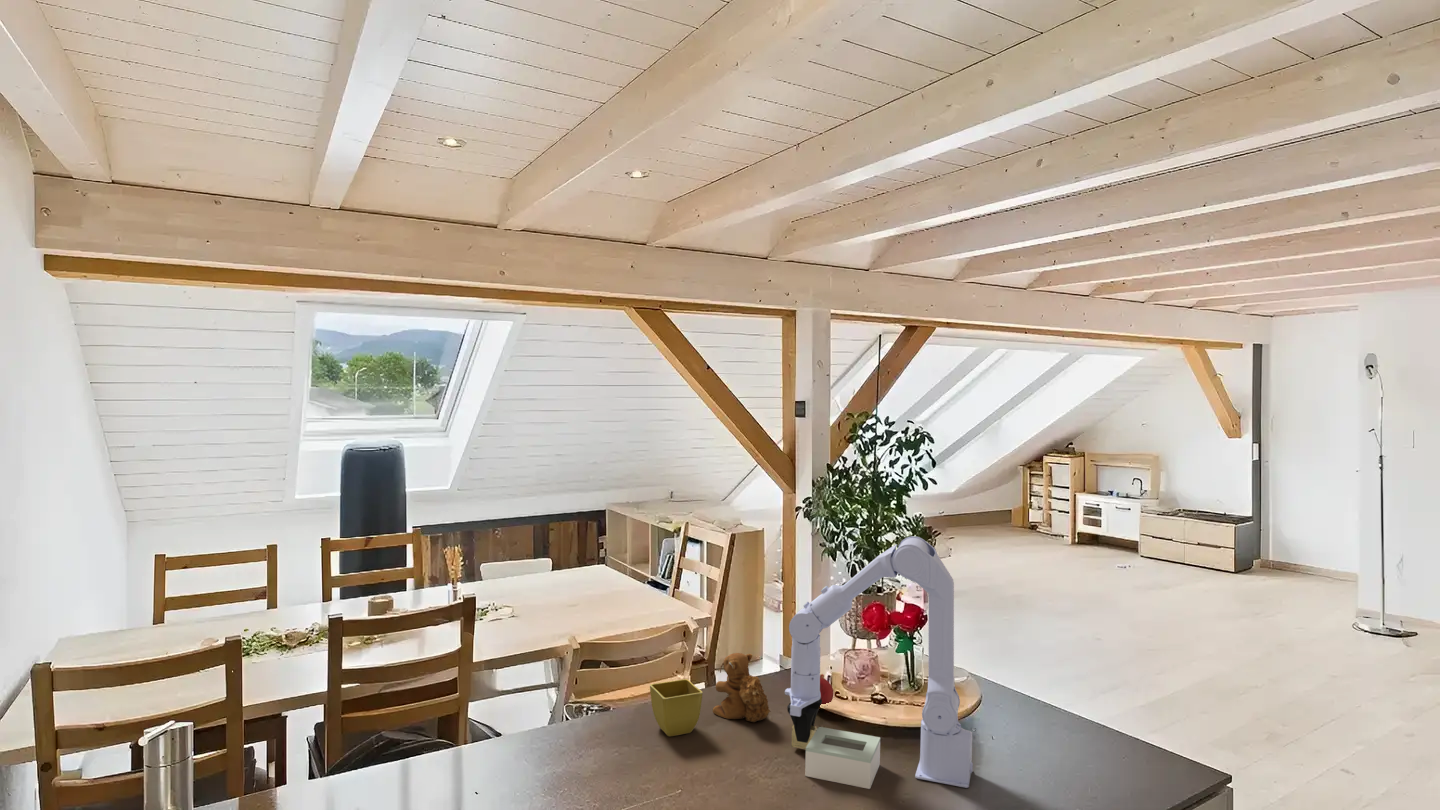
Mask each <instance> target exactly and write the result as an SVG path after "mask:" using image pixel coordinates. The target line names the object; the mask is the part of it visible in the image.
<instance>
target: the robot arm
mask: <svg viewBox="0 0 1440 810" xmlns="http://www.w3.org/2000/svg"><path fill="white" fill-rule="evenodd" d="M898 574H899V575H900V576H902V577H903V578H904V579H907V580H910V582H911V581H912V582H913V583H916V584H917V585H919V587H920V588H922V589H923V590H924V591H925V592H926V593H928V677H927V679H928V680H927V691H926V693H925V701H924V706H923V707H922V712H921V717H922V719H921V721H920V744H919V745H920V750H919V751H920V753H919V762H918V764H917V768H916V771H915V775H914V778H916V779H918V780H924V781H929V782H933V783H939V784H945V785H949V786H956V787H960V788H966V789H967V788H969V787H970V781H971V776H972V773H973V768H974V767H973V766H974V762H973V761H972V756H973V731H971V730H969V729H968V730H967V729H964V728H963V727H962V724H961V723H960V722H959V717H958V714H959V708H960V702H961V700H960V696H959V693H958V692H957V689H956V686H955V674H954V673H955V670H954V669H955V656H954V655H955V631H954V629H955V582H954V579H953V576H952V575H951V573H950V572H949V570H948V569H947V567H946V566H945V564H944V563H943V561H942V559H941V558H940V556H939V554H938V552H937V550H936V548H935V547H934V546H933V545H931V544H930V543H929V542H928V541H926V540H925V539H923V538H922V537H919V536H915V535H914V536H913V535H912V536H908V537H907V536H906V537H905V538H904V539H902V540H901V541H900V543H899V544H895V545H892V546H891V547H889V548H888V549H886V550H885V551H883V552H882V553H880V554H879V555H877V556H876V557H875V558H874V559H872V561H870V562H869V563H868V564H867V565H865V566H864V567H863V568H862V569H861V570H860V571H858V573H856V574H855V575H854V576H852V577H851V578H850V579H849V580H848V581H847V582H845V583H844V584H843V585H839V584H832V585H831V586H828V585H825V586H824V587H823V588H822V589H821V591H820V592H821V594H819V595H818V596H816V598H815V599H813V600H812V601H810V602H809V601H806V602H805V603H804V604H803V608H801V609H800V610H798V611H797V612H796V613H795V614H794V616H793V617H792V618H791V620H790V621H789V624H788V625H789V626H788V631H789V634H790V636H791V653H790V654H791V655H790V656H791V657H790V658H791V660H790V687H787V688H786V689H785V690H784V695H786V696H789V699H790V703H789V704H788V705H787V706H786V707H787V708H786V709H787V713H788V714H789V716H790V718H791V720H792V724H793V725H794V729H795V734H796V738H797V741H799V742H805V743H807V742H808V740H809V736H810V730H811V726H815V722H816V719H817V716H818V715H817V714H818V712H819V711H820V710H819V707H820V705H821V703H822V699H820V698H821V693H820V674H821V634H820V633H821V632H822V631H823V629H827V628H829V627H830V626H831V625H832V624H834V623H836V622H837V621H838V620H839V619H840V618H842V617H843V616H844V615H845V614H847V613H848V612H849V611H851V610H852V609H853V608H852V607H853V599H855V598H856V597H857V596H859V595H860V594H862V593H863V592H864V591H866V590H867V589H869V588H870V587H871V586H872V585H874V584H875V583H877V582H878V581H879V580H881V579H882V578H893V579H894V578H897V576H898Z"/></svg>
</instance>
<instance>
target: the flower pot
mask: <svg viewBox="0 0 1440 810" xmlns="http://www.w3.org/2000/svg"><path fill="white" fill-rule="evenodd" d="M649 692H650V693H649V694H650V699H651V701H650V702H651V709H652V713H653V716H654V718H655V720H656V721H655V722H656V723H657V725H658V726H659V728H660V729H661V730H662V732H663V733H665V735H666V736H667V737H675V736H680V735H685V734H690V733H692V732H693V730H694V729H695V728H696V725H697V723H698V722H699V719H700V715H701V707H702V701H703V693H704V691H702V690H701V689H700V688H698V686H696V685H695V684H693V682H691V681H690V680H689V679H687V678H683V679H675V680H670V681H663V682H655V683H651V684H649Z"/></svg>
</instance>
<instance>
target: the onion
mask: <svg viewBox="0 0 1440 810" xmlns="http://www.w3.org/2000/svg"><path fill="white" fill-rule="evenodd" d="M820 693H821V698H820V699H822V703H821V704H826V703H829V702H831V703H832V701H833V698H834V689H833V686H832V684H831V683H830V682H829V681H828V680H827V679H826V678H825V674H823V673H820Z"/></svg>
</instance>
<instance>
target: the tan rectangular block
mask: <svg viewBox="0 0 1440 810" xmlns="http://www.w3.org/2000/svg"><path fill="white" fill-rule="evenodd" d="M817 729H818V728H817V726H815V725H814V726H811V730H810V736H809V740H808V742H807V743H805V742H799V741H797V738H796V734H795V729H794V724H793V725H792V726H791V748H792V747H793V748H798V749H803V750H806V747H807V745H808V743H809V742H810V740H811V739H812V737H813V735H814V734H815V732H816V731H817Z"/></svg>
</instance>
